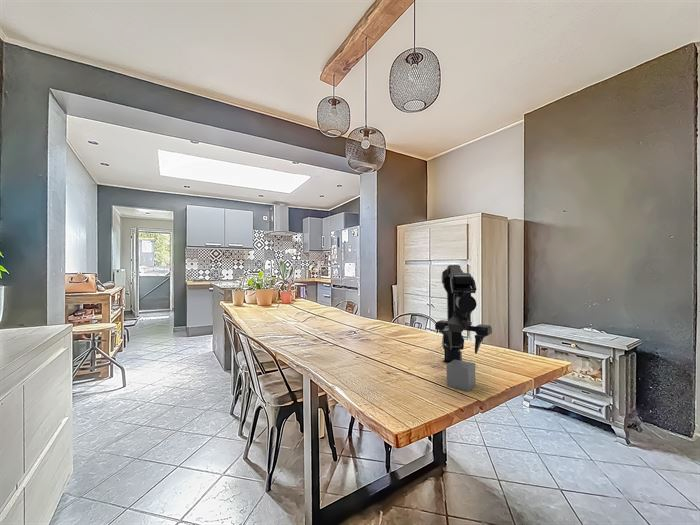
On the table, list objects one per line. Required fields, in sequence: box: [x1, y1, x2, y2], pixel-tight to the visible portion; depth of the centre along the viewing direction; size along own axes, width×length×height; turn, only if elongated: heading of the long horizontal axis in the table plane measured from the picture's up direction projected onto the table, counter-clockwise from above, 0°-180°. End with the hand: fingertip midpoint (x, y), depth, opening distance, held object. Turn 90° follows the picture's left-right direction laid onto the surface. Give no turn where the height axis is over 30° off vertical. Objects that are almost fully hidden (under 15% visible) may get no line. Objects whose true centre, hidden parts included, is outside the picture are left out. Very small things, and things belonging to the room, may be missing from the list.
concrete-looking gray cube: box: [446, 360, 476, 392], centre depth 108 cm, size 8×8×8 cm
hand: (462, 351), depth 109 cm, fingers open, 9 cm apart
